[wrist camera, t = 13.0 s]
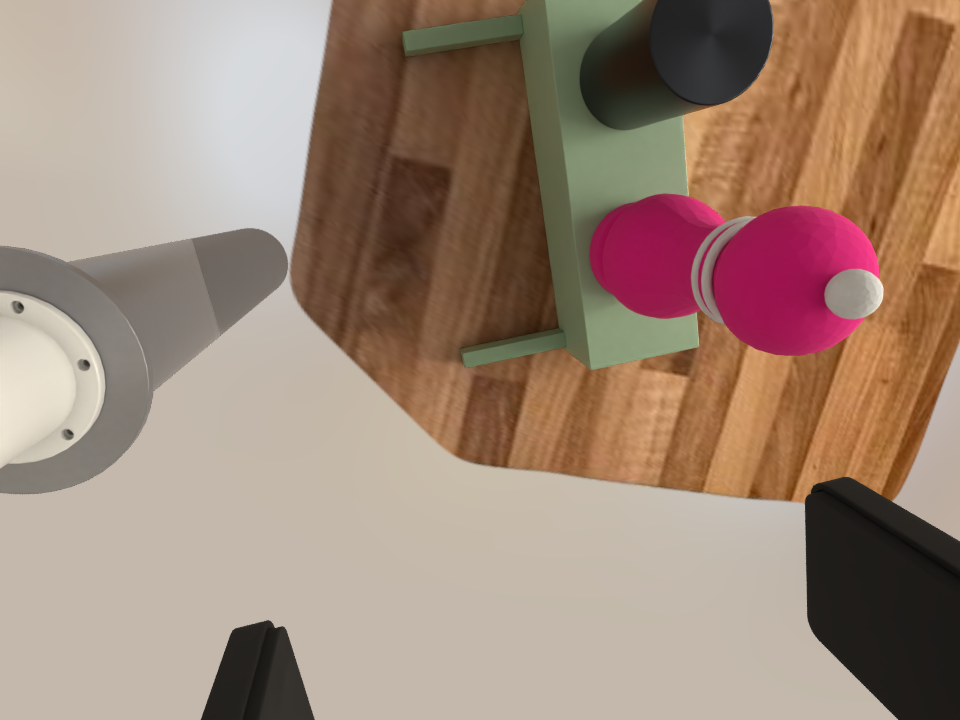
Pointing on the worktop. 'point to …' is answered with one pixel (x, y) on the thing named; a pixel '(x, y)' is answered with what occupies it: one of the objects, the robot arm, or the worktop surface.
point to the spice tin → (674, 59)
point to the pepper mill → (741, 270)
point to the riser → (578, 179)
